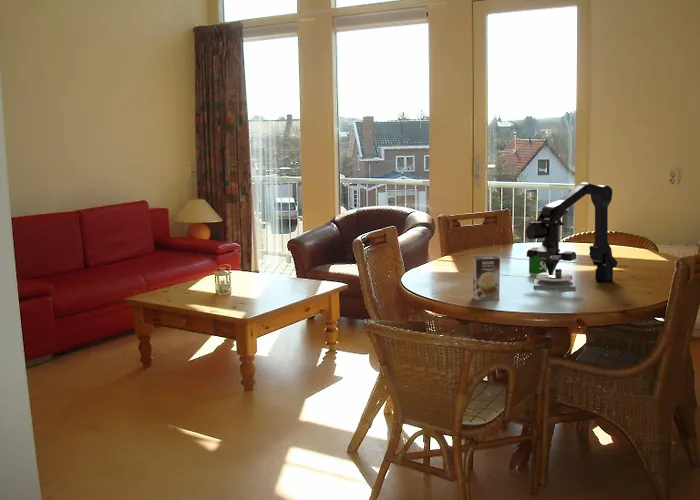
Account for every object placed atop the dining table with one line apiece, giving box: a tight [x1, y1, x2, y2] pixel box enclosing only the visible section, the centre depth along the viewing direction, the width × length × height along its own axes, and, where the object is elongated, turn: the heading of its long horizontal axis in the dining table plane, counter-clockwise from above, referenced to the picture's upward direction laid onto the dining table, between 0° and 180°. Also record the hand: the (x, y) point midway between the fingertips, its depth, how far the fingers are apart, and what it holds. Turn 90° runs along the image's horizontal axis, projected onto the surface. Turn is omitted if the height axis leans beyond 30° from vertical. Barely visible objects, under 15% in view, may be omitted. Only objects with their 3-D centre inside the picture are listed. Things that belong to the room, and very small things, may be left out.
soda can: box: [528, 246, 548, 278], centre depth 322 cm, size 8×8×12 cm
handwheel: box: [536, 268, 573, 282], centre depth 302 cm, size 14×14×5 cm
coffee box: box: [472, 255, 501, 301], centre depth 283 cm, size 9×6×16 cm
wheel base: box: [533, 277, 576, 291], centre depth 303 cm, size 16×15×3 cm
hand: (550, 275), depth 298 cm, fingers closed
